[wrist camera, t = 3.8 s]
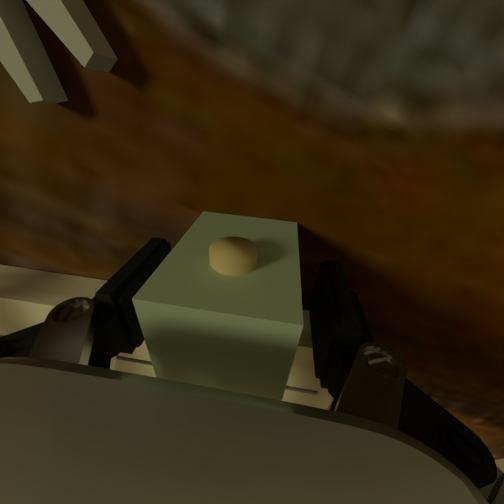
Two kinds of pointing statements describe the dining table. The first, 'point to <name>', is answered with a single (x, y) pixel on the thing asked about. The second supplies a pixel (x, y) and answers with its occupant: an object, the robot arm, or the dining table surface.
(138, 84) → the dining table surface
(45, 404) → the robot arm
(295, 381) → the board
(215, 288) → the green peg block
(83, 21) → the pliers
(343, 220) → the dining table surface
